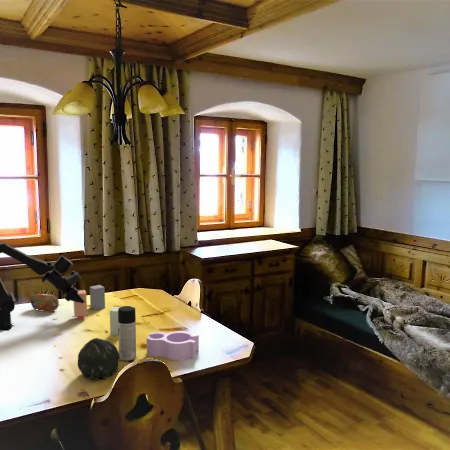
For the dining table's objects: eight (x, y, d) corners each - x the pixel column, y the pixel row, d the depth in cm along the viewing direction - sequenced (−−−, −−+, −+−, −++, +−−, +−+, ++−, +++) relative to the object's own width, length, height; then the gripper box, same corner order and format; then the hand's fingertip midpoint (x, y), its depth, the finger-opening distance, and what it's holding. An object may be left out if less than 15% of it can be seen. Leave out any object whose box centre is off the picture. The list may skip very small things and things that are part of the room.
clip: (143, 358, 182) (143, 341, 181) (152, 345, 194) (152, 329, 193) (193, 361, 179) (193, 344, 178) (200, 348, 191) (200, 332, 190)
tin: (30, 309, 237) (29, 293, 235) (35, 307, 240) (34, 292, 238) (56, 312, 232) (55, 296, 231) (60, 310, 235) (59, 294, 234)
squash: (120, 347, 179) (93, 323, 172) (132, 364, 166) (103, 339, 159) (92, 376, 175) (64, 353, 169) (102, 395, 162) (71, 372, 156)
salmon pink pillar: (87, 315, 223) (86, 293, 222) (75, 316, 221) (74, 294, 219) (85, 311, 228) (84, 289, 227) (73, 313, 226) (73, 291, 224)
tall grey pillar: (105, 307, 240) (104, 287, 238) (94, 310, 237) (94, 289, 235) (100, 305, 244) (99, 284, 243) (90, 307, 241) (89, 286, 239)
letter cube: (84, 319, 224) (83, 313, 224) (77, 319, 223) (77, 313, 223) (83, 317, 227) (83, 311, 226) (77, 317, 226) (76, 311, 225)
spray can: (128, 352, 187) (127, 304, 184) (140, 357, 183) (139, 308, 180) (115, 358, 182) (113, 308, 179) (126, 363, 177) (125, 312, 174)
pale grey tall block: (122, 335, 204) (122, 311, 202) (110, 335, 204) (109, 310, 203) (126, 330, 209) (126, 307, 208) (114, 330, 210) (113, 306, 208)
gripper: (71, 272, 211) (97, 293, 217) (68, 263, 228) (92, 283, 234) (54, 290, 209) (80, 311, 215) (51, 280, 226) (76, 299, 232)
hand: (82, 300), depth 224 cm, fingers closed on salmon pink pillar, 5 cm apart
